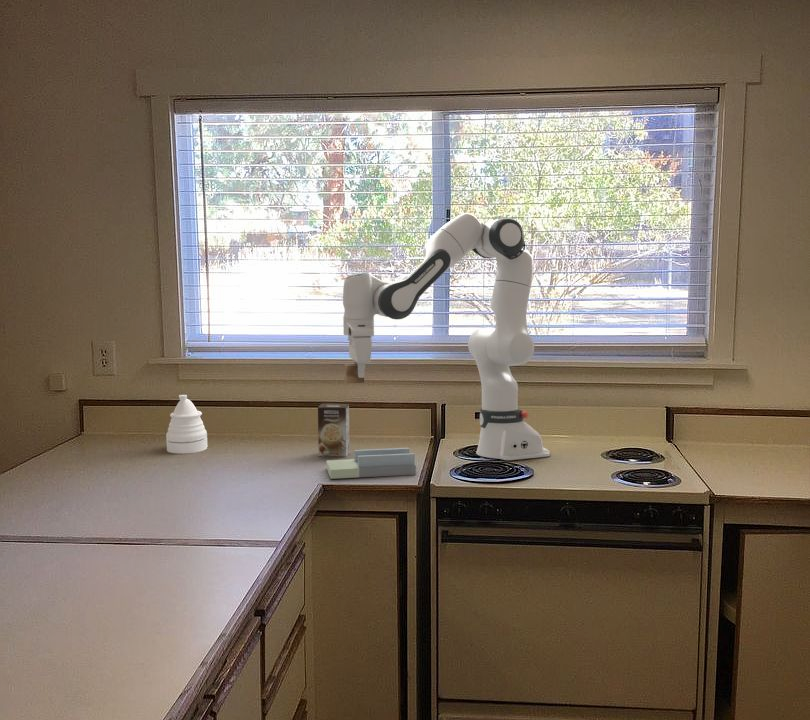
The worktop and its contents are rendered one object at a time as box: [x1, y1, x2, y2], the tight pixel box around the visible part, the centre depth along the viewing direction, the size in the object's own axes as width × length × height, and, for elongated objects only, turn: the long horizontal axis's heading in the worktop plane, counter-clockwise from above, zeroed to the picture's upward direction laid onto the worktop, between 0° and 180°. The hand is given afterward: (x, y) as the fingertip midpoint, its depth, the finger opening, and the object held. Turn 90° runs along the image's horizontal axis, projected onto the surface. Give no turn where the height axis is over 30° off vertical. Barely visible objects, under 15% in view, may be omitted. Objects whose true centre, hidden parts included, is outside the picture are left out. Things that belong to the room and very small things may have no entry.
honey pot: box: [165, 394, 209, 455], centre depth 256 cm, size 13×13×18 cm
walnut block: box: [344, 363, 365, 384], centre depth 229 cm, size 5×5×5 cm
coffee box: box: [317, 403, 350, 458], centre depth 245 cm, size 9×6×16 cm
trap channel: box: [325, 447, 417, 480], centre depth 225 cm, size 24×12×6 cm, turn 101°
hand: (359, 376), depth 229 cm, fingers closed on walnut block, 5 cm apart
